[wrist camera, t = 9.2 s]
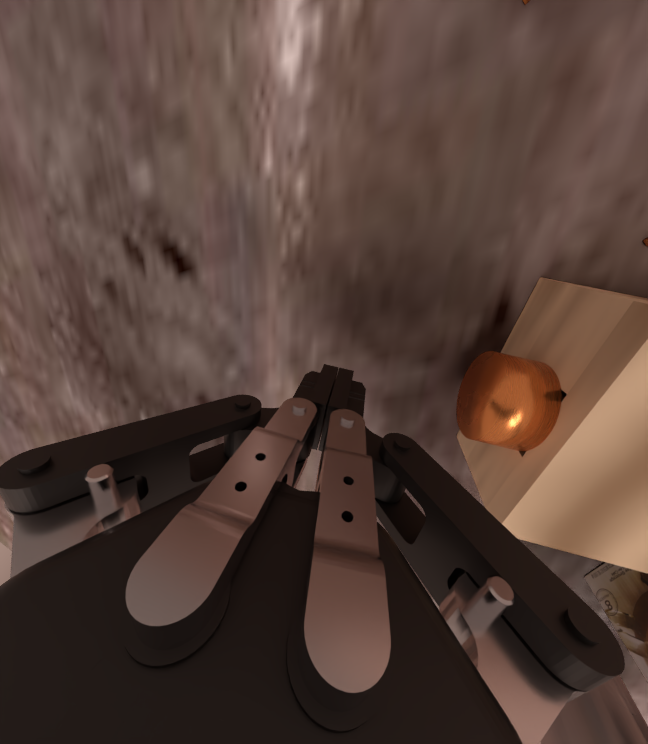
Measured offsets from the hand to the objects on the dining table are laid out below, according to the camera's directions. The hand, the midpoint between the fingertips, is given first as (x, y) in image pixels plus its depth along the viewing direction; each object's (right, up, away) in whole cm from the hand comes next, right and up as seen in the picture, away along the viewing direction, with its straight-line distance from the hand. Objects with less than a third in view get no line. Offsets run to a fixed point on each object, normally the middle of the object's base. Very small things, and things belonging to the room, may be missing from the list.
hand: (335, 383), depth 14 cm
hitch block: (+15, 0, +4) cm, 15 cm away
